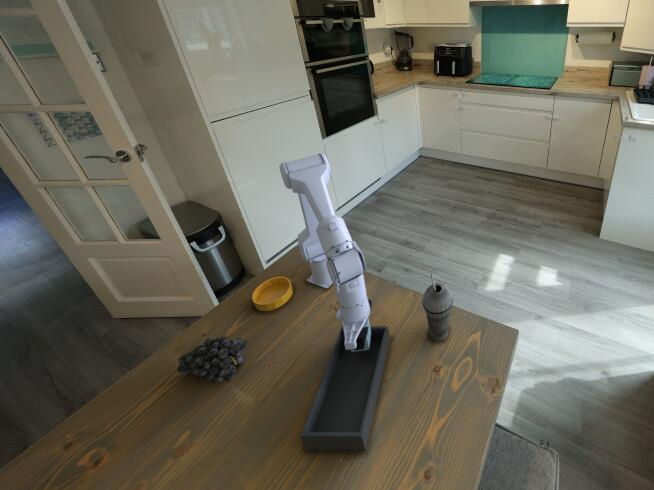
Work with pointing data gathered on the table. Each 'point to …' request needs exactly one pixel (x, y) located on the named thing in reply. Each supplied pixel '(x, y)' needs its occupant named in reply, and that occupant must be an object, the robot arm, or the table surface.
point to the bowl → (272, 293)
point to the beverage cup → (437, 309)
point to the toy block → (368, 338)
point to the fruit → (214, 359)
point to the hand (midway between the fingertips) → (361, 338)
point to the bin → (347, 396)
